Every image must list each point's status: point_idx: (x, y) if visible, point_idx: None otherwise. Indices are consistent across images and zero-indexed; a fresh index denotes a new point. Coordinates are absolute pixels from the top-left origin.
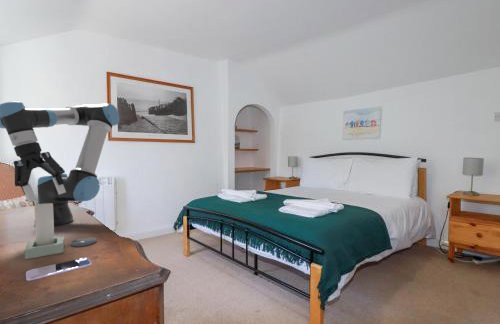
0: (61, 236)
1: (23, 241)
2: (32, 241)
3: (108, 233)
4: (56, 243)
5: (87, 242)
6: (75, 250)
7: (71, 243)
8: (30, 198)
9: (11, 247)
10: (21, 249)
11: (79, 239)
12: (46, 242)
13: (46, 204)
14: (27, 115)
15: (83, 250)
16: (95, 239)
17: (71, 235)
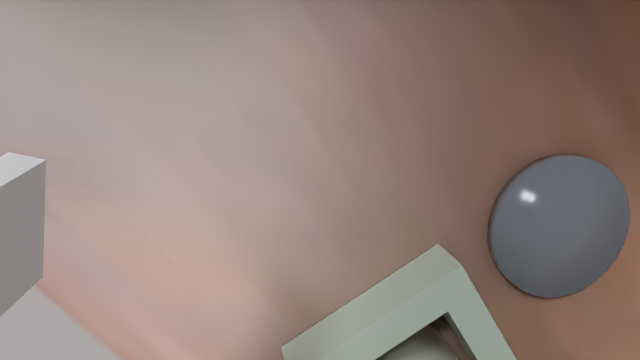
0: (453, 273)
1: (70, 165)
2: None
3: (637, 3)
4: None
5: (598, 260)
6: (562, 344)
7: (509, 276)
8: (5, 284)
9: (105, 298)
10: (219, 333)
11: (521, 196)
12: None
13: None
14: None
15: (604, 343)
16: (623, 201)
17: (373, 28)
